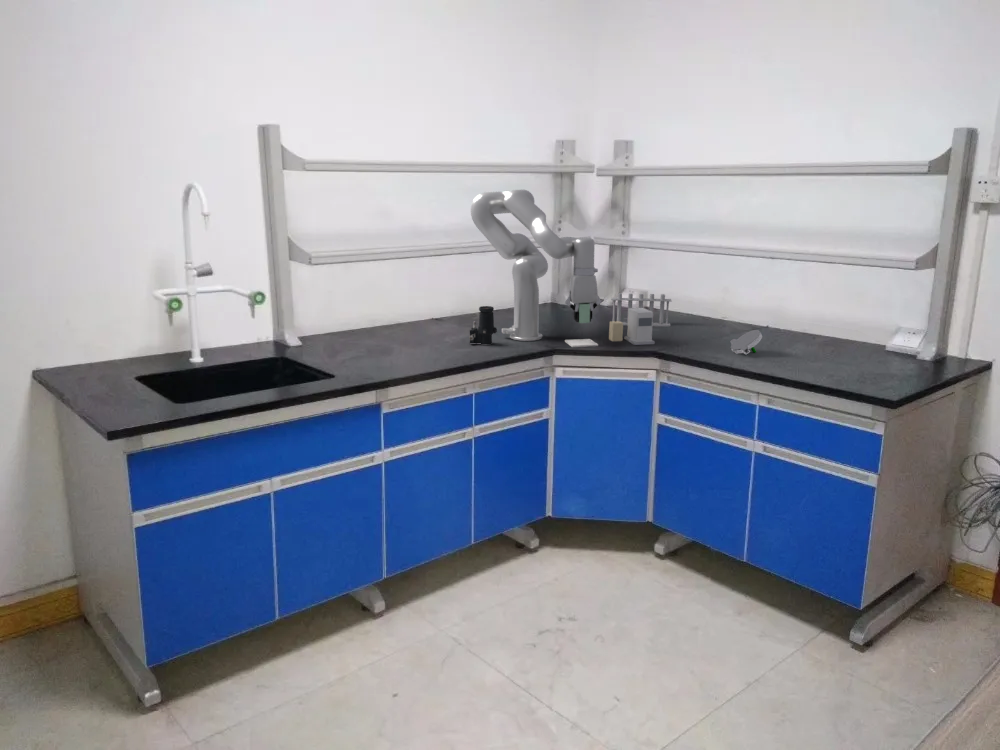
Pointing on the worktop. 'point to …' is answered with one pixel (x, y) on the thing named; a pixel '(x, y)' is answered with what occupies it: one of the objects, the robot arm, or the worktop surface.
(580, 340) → the mat
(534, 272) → the robot arm
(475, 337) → the scope
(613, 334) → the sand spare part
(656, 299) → the test tube rack
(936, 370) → the worktop surface
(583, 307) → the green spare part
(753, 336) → the grey tilted oval device
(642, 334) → the bench unit
